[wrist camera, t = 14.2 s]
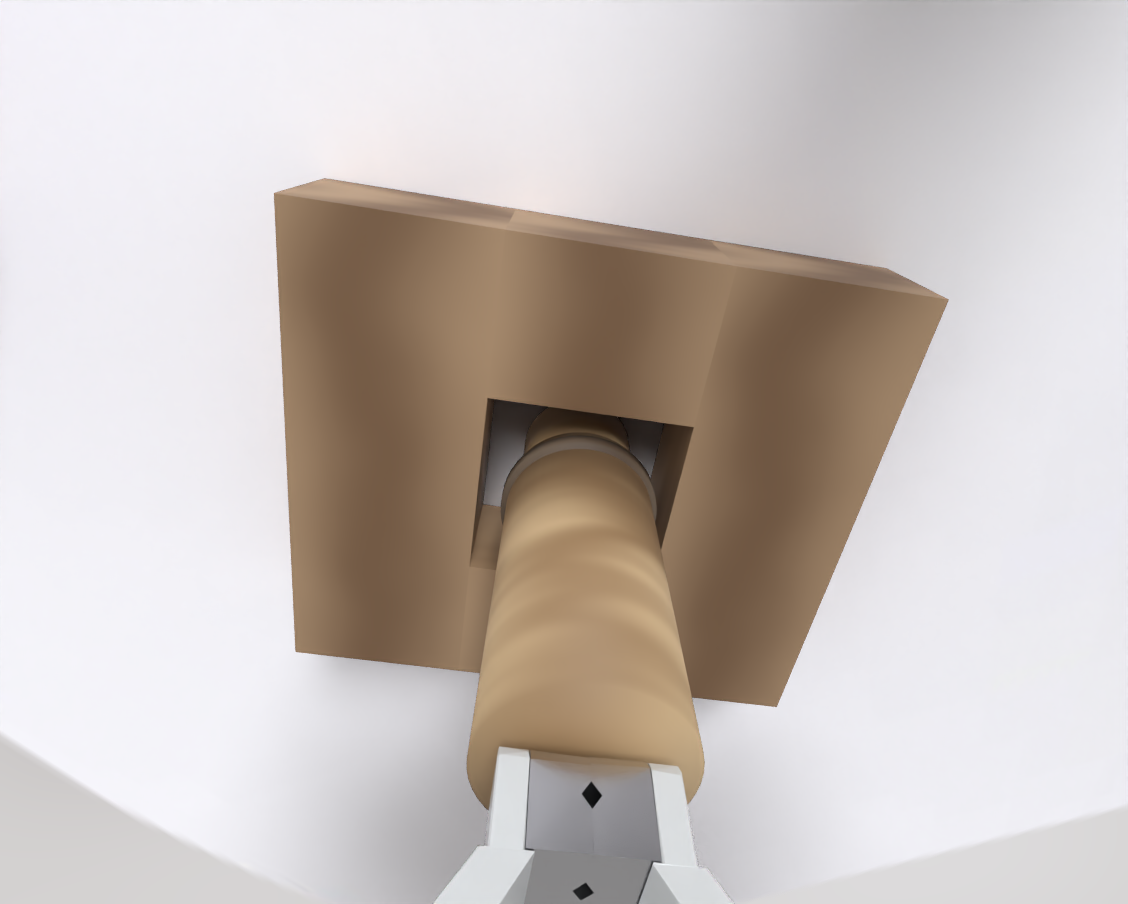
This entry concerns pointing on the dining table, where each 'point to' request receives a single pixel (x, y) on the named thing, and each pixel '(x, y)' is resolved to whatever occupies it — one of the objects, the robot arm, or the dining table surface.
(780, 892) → the dining table surface
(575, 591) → the peg
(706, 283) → the board
